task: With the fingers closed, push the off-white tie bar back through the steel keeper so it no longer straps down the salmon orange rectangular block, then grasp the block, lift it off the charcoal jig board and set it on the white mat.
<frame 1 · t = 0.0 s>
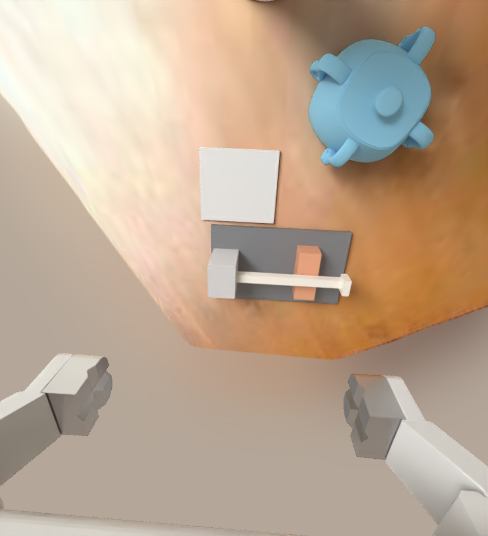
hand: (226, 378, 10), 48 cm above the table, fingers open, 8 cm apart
salmon orange rectangular block: (304, 268, 60), point 1 cm above the table, touching jig board
decorative pot: (357, 107, 48), on the table
white mat: (238, 186, 54), on the table
jig board: (265, 264, 61), on the table
tie bar: (282, 281, 55), point 7 cm above the table, slide at 0.0 cm
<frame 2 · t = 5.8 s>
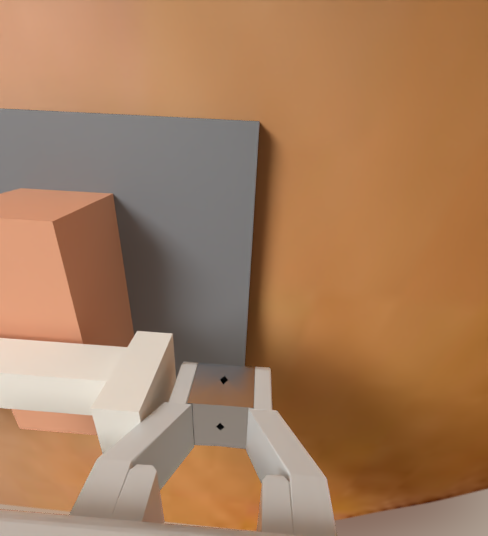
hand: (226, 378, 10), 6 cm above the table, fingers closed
salmon orange rectangular block: (88, 292, 15), point 1 cm above the table, touching jig board
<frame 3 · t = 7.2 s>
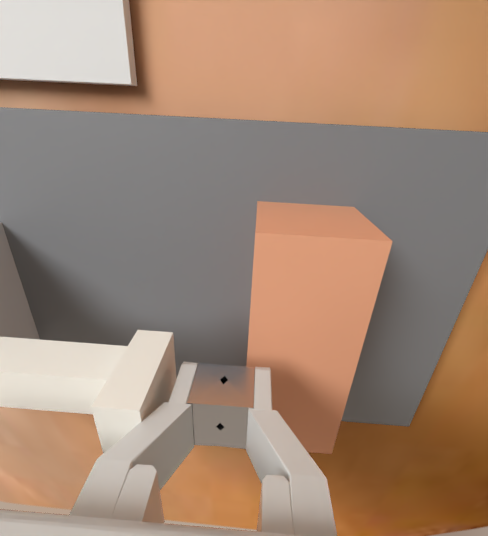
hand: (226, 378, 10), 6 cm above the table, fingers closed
salmon orange rectangular block: (291, 305, 14), point 1 cm above the table, touching jig board
jig board: (137, 284, 16), on the table
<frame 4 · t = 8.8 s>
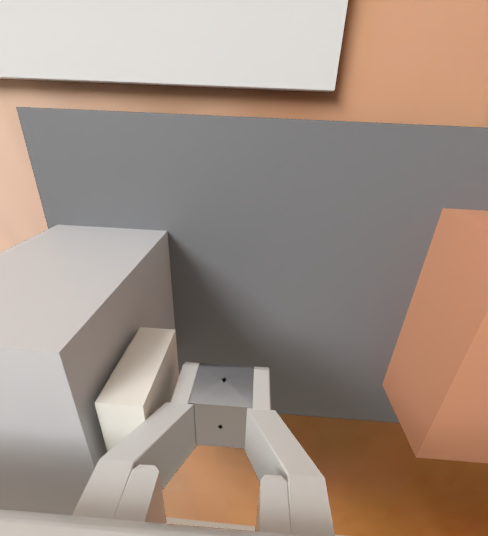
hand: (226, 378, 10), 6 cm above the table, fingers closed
salmon orange rectangular block: (449, 312, 14), point 1 cm above the table, touching jig board
jig board: (282, 291, 15), on the table
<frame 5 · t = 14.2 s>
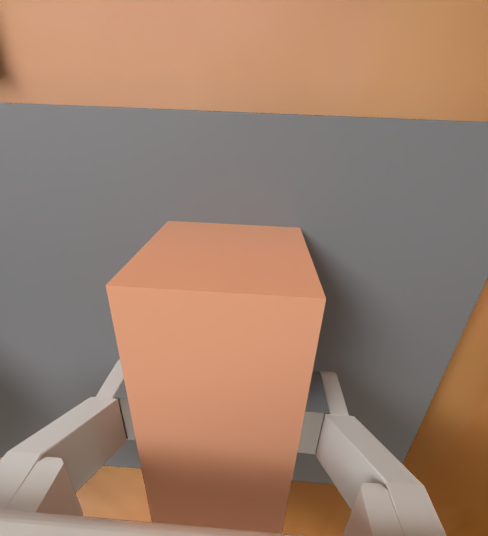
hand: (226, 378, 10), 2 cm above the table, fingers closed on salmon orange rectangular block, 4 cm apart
salmon orange rectangular block: (230, 351, 11), point 1 cm above the table, touching gripper, jig board
jig board: (42, 322, 12), on the table
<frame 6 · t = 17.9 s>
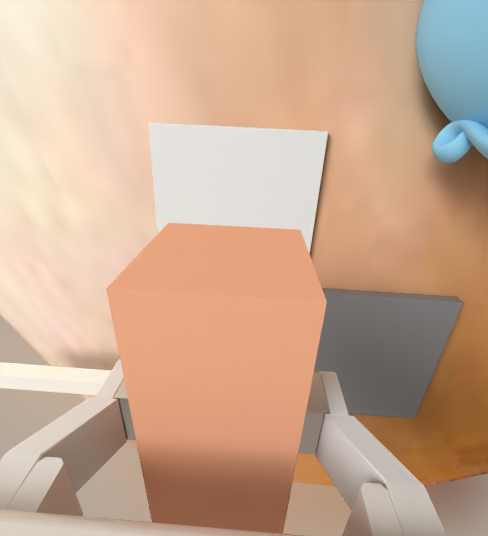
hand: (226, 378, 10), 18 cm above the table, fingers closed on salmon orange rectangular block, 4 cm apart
salmon orange rectangular block: (231, 353, 11), point 17 cm above the table, touching gripper
white mat: (235, 208, 26), on the table
jig board: (284, 349, 33), on the table
tie bar: (111, 389, 27), point 7 cm above the table, slide at 19.3 cm
when the fingers open (3 cm above the table, at t = 21.5 s): salmon orange rectangular block drops 1 cm, resting on white mat.
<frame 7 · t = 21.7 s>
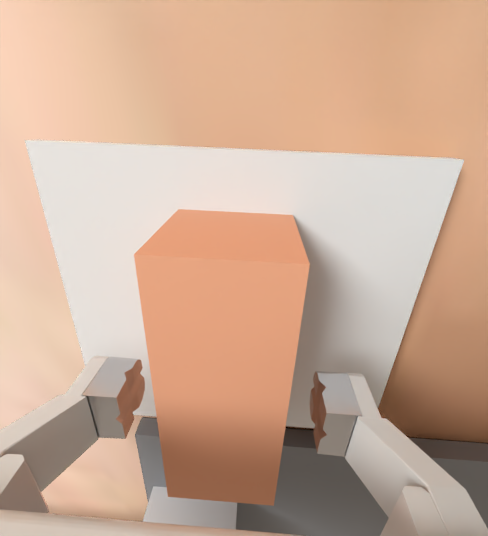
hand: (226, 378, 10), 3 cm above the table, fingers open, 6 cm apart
salmon orange rectangular block: (232, 327, 12), point 1 cm above the table, touching white mat
white mat: (235, 309, 13), on the table
jig board: (320, 511, 19), on the table
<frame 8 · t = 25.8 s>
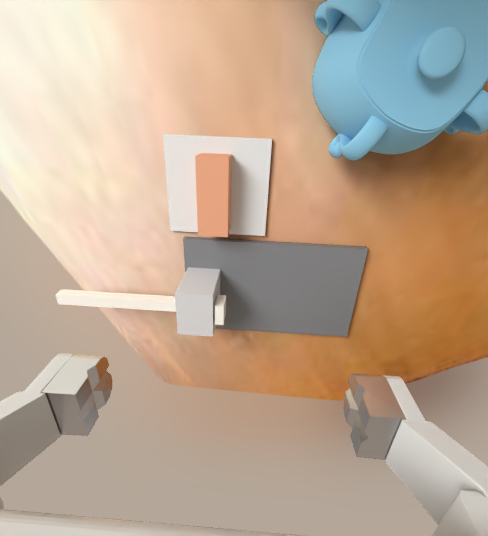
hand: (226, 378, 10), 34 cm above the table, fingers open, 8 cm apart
salmon orange rectangular block: (216, 192, 41), point 1 cm above the table, touching white mat
decorative pot: (379, 78, 34), on the table
white mat: (217, 187, 41), on the table
jig board: (254, 286, 48), on the table
tie bar: (140, 304, 42), point 7 cm above the table, slide at 19.3 cm
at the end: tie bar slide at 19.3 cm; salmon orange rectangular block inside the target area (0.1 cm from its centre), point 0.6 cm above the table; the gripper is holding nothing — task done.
